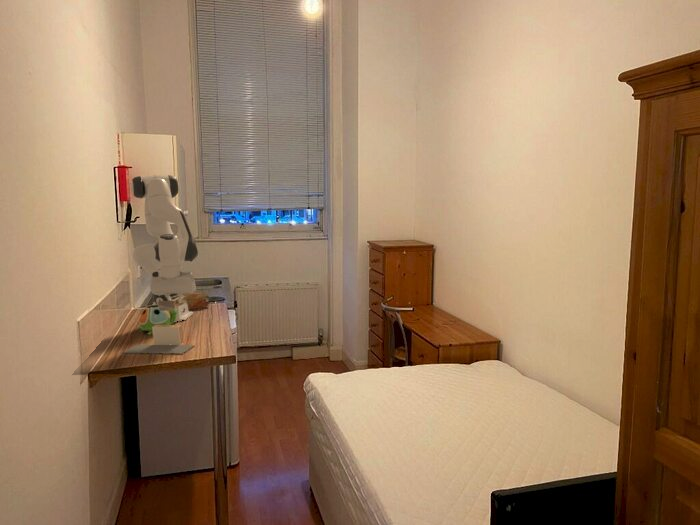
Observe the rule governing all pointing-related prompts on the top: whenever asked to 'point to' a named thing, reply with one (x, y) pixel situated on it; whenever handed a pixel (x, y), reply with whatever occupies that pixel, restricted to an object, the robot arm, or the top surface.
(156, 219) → the robot arm
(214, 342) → the top surface
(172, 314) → the turtle holder
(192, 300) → the brown rounded slab
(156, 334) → the tile
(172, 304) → the scraper
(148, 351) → the mat
